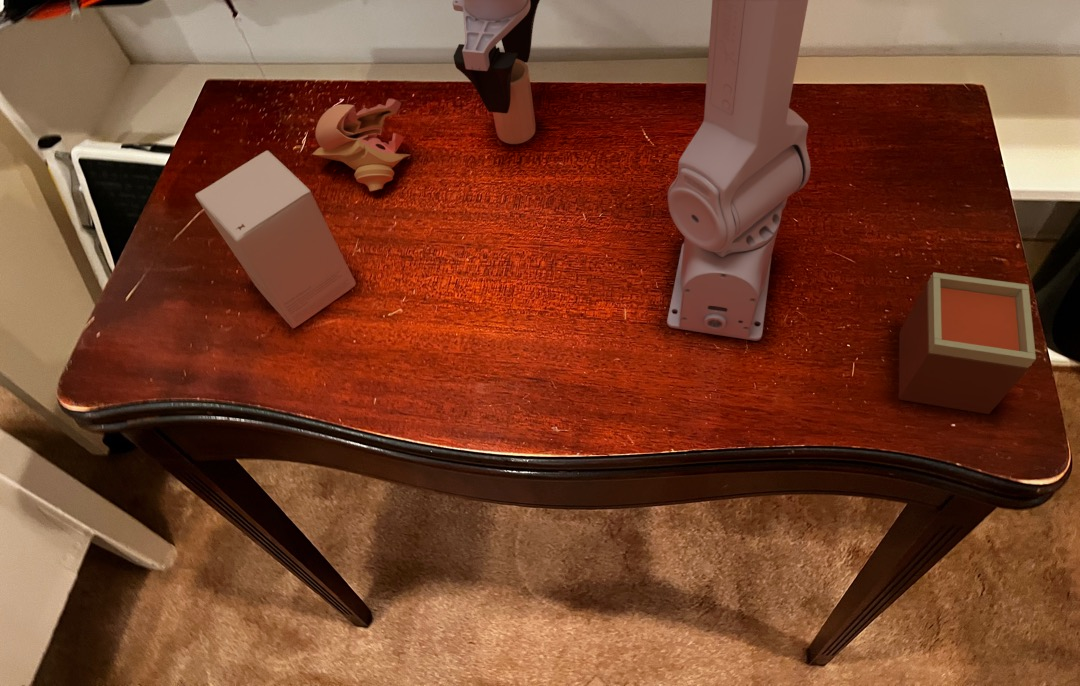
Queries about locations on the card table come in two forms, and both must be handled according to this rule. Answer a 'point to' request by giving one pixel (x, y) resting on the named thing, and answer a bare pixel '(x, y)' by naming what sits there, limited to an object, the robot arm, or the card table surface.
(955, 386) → the holder
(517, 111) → the beige hollow cylinder
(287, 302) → the white packaging box
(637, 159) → the card table surface
